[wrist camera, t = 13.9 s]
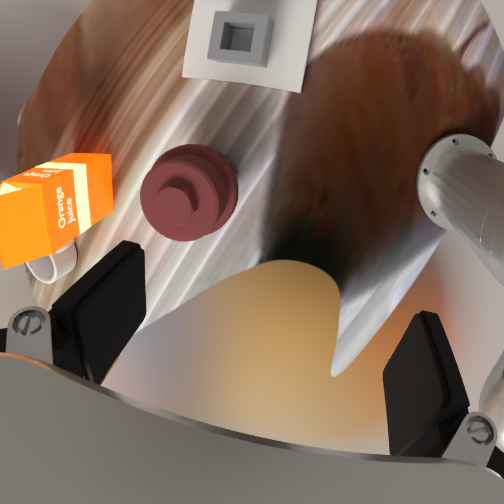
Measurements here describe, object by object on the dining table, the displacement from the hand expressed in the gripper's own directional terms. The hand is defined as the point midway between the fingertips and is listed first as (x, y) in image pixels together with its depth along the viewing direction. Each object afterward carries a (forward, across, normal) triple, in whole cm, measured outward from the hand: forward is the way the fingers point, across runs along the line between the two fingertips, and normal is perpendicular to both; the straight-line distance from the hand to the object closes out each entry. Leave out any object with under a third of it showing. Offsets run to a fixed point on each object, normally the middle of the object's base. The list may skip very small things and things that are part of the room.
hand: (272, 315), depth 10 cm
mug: (+31, +38, +22) cm, 54 cm away
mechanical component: (+31, +11, +5) cm, 33 cm away
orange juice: (+31, +30, +9) cm, 44 cm away
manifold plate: (+30, +9, -17) cm, 36 cm away
